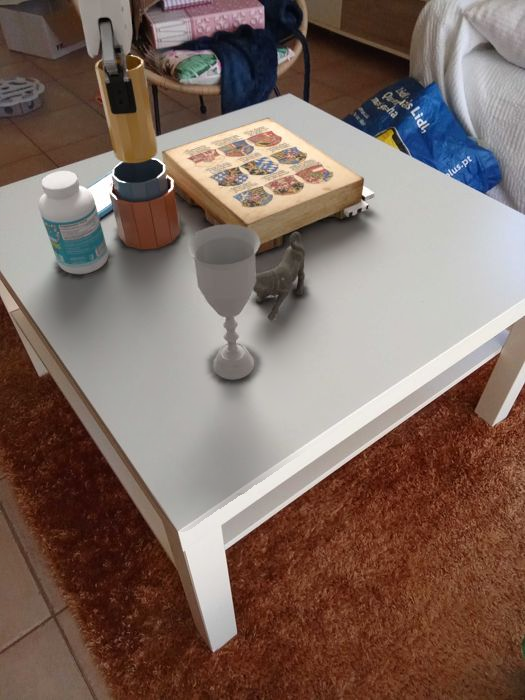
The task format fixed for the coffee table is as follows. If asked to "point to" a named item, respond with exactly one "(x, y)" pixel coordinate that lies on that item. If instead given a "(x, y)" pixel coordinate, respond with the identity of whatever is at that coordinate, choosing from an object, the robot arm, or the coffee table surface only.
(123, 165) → the cup stack
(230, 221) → the book
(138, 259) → the coffee table surface
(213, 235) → the chalice
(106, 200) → the smartphone
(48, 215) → the pill bottle
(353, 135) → the coffee table surface
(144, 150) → the ochre cup
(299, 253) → the dog figurine
